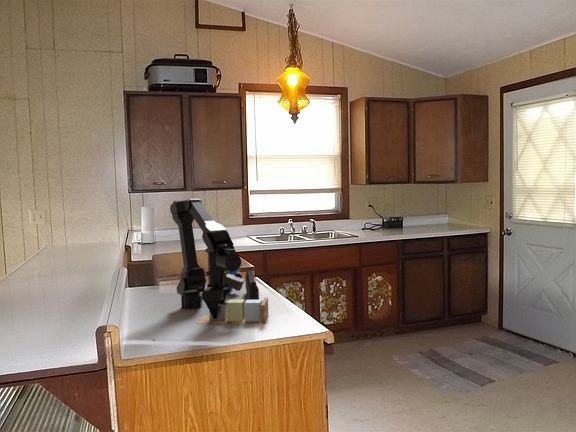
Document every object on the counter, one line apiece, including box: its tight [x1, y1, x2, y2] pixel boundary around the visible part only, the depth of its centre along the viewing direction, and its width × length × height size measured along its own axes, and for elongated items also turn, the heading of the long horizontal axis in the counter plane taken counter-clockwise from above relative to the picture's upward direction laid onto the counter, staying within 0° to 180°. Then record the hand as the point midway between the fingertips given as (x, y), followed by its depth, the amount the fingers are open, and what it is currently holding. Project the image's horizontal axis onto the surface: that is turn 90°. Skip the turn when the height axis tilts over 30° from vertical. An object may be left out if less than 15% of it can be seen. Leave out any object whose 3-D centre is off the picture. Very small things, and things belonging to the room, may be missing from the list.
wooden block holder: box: [195, 297, 269, 325], centre depth 152 cm, size 22×9×7 cm, turn 85°
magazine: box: [245, 267, 260, 300], centre depth 176 cm, size 17×3×30 cm
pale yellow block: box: [226, 299, 245, 321], centre depth 152 cm, size 5×4×6 cm
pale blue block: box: [244, 299, 263, 321], centre depth 151 cm, size 5×4×6 cm
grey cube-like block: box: [208, 302, 227, 321], centre depth 152 cm, size 5×4×5 cm
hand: (218, 314), depth 152 cm, fingers open, 9 cm apart
